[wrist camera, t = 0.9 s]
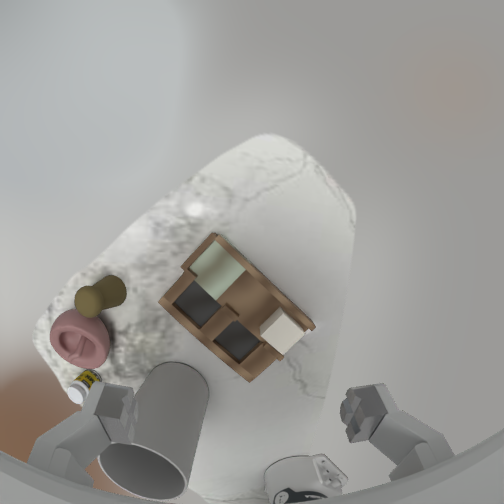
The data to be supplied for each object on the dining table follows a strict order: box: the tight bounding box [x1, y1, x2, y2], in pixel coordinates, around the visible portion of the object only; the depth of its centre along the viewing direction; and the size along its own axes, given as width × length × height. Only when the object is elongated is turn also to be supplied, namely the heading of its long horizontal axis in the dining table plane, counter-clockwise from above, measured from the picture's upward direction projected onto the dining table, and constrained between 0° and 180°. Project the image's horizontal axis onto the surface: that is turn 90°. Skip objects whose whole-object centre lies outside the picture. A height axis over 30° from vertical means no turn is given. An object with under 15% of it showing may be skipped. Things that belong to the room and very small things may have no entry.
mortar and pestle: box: [50, 309, 110, 369], centre depth 45 cm, size 12×12×11 cm
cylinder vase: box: [97, 363, 209, 501], centre depth 40 cm, size 12×12×25 cm
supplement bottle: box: [67, 369, 102, 404], centre depth 48 cm, size 5×5×8 cm
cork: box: [75, 275, 127, 318], centre depth 45 cm, size 6×6×11 cm
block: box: [260, 307, 305, 355], centre depth 47 cm, size 5×5×4 cm
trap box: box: [158, 233, 316, 383], centre depth 49 cm, size 23×16×4 cm
